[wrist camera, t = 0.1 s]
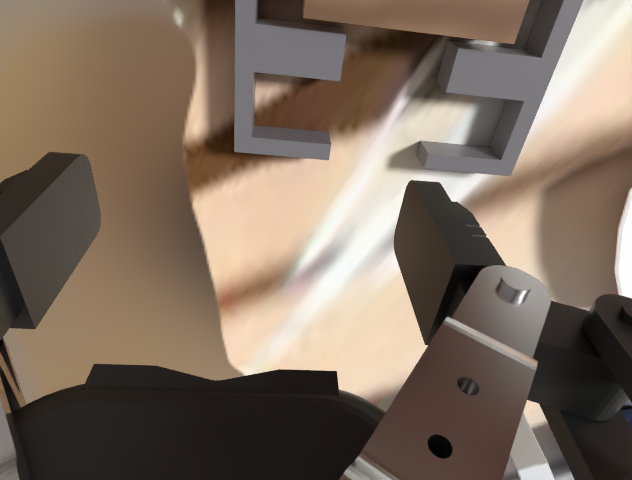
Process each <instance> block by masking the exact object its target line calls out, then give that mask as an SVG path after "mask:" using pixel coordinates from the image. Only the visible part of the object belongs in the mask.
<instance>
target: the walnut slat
mask: <svg viewBox="0 0 632 480" xmlns="http://www.w3.org/2000/svg"><path fill="white" fill-rule="evenodd" d="M529 1H530V0H303V2H302V13H303V18H308V19H316V20H324V21H332V22H340V23H348V24H356V25H364V26H372V27H380V28H388V29H396V30H404V31H412V32H420V33H428V34H437V35H445V36H453V37H461V38H469V39H477V40H485V41H493V42H501V43H509V44H514V43H515V40H516V38H517V35H518V32H519V29H520V26H521V23H522V21H523V18H524V15H525V12H526V9H527V6H528V4H529Z"/></svg>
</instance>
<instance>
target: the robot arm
mask: <svg viewBox="0 0 632 480" xmlns="http://www.w3.org/2000/svg"><path fill="white" fill-rule="evenodd" d="M100 221H101V212H100V207H99V202H98V197H97V192H96V188H95V184H94V178H93V173H92V169H91V165H90V162H89V159H88V158H87V157H86V156H85V155H84V154H71V153H58V152H49V153H47V154H46V155H45V156H44V157H43V158H42V159H41V160H39V161H38V162H37V163H36V164H35V165H34V166H32V168H30V169H29V170H25V171H23V172H21V173H19V174H17V175H14V176H12V177H10V178H7V179H5V180H4V181H2V182H1V183H0V480H502V478H503V475H504V471H505V468H506V465H507V462H508V459H509V455H510V452H511V449H512V446H513V442H514V439H515V436H516V433H517V430H518V426H519V423H520V420H521V417H522V414H523V410H524V407H525V404H526V401H527V400H530V401H533V402H536V403H539V404H540V406H541V409H542V411H543V413H544V415H545V417H546V419H547V421H548V423H549V426H550V428H551V430H552V432H553V434H554V436H555V438H556V441H557V443H558V445H559V447H560V449H561V451H562V453H563V455H564V458H565V460H566V462H567V464H568V466H569V468H570V470H571V473H572V475H573V477H574V479H575V480H632V428H631V426H630V425H629V423H628V422H627V420H626V418H625V417H624V415H623V414H622V412H621V411H620V409H621V407H622V406H623V405H624V404H625V403H626V402H627V401H628V399H630V401H631V402H632V298H629V297H625V296H621V295H615V294H608V295H602V296H600V297H598V298H597V300H596V301H595V302H594V304H593V306H592V307H591V309H590V310H589V311H587V310H583V309H579V308H575V307H572V306H568V305H564V304H560V303H557V302H553V301H551V296H550V294H549V292H548V290H547V289H546V287H545V286H544V285H543V284H542V283H541V282H540V281H539V280H537V279H536V278H534V277H533V276H531V275H529V274H528V273H526V272H523V271H521V270H519V269H516V268H512V267H508V266H506V265H505V263H504V261H503V260H502V258H501V257H500V255H499V254H498V252H497V251H496V249H495V248H494V246H493V245H492V243H491V242H490V240H489V239H488V238H486V234H485V233H484V231H483V229H482V228H481V227H479V226H480V225H479V223H478V222H477V220H476V219H475V217H474V216H473V214H472V213H471V212H470V211H468V210H467V209H466V208H464V207H463V206H462V205H460V204H459V203H458V202H452V201H451V200H450V198H449V197H448V195H447V193H446V192H445V190H444V188H443V187H442V185H441V184H440V183H439V182H428V181H415V180H411V181H409V183H408V185H407V187H406V190H405V194H404V198H403V202H402V206H401V210H400V214H399V217H398V221H397V225H396V229H395V234H394V251H395V255H396V258H397V261H398V264H399V267H400V270H401V273H402V276H403V279H404V282H405V285H406V288H407V291H408V294H409V297H410V300H411V303H412V306H413V309H414V312H415V316H416V319H417V322H418V325H419V328H420V331H421V334H422V337H423V340H424V343H425V345H428V347H427V349H426V350H425V352H424V353H423V355H422V356H421V358H420V360H419V361H418V363H417V364H416V366H415V368H414V369H413V371H412V372H411V374H410V375H409V377H408V379H407V380H406V382H405V383H404V385H403V387H402V388H401V390H400V391H399V393H398V394H397V396H396V398H395V399H394V401H393V402H392V404H391V406H390V407H389V409H388V410H387V412H385V411H384V410H382V409H381V408H379V407H378V406H376V405H375V404H373V403H371V402H369V401H367V400H365V399H363V398H361V397H359V396H357V395H354V394H351V393H349V392H346V391H342V390H339V388H338V379H337V371H313V370H280V369H279V370H274V371H269V372H264V373H258V374H253V375H248V376H242V377H237V378H232V379H227V380H220V381H214V380H209V379H205V378H201V377H197V376H193V375H190V374H186V373H182V372H178V371H174V370H170V369H167V368H163V367H159V366H148V365H112V364H94V365H93V367H92V370H91V372H90V374H89V376H88V378H87V380H86V383H85V384H82V385H77V386H74V387H70V388H66V389H63V390H59V391H57V392H54V393H52V394H49V395H46V396H44V397H42V398H40V399H37V400H35V401H33V402H31V403H28V404H26V401H25V398H24V395H23V392H22V389H21V386H20V383H19V380H18V377H17V374H16V371H15V368H14V365H13V362H12V359H11V356H10V353H9V350H8V347H7V345H6V342H5V340H4V338H3V336H4V335H5V334H6V332H7V330H8V329H9V328H23V329H36V327H37V326H38V324H39V323H40V321H41V320H42V318H43V317H44V315H45V313H46V312H47V310H48V309H49V307H50V306H51V304H52V303H53V301H54V300H55V298H56V297H57V295H58V294H59V292H60V291H61V289H62V288H63V286H64V285H65V283H66V281H67V280H68V278H69V277H70V275H71V274H72V272H73V271H74V269H75V268H76V266H77V265H78V263H79V262H80V260H81V259H82V257H83V256H84V254H85V252H86V251H87V249H88V248H89V246H90V245H91V243H92V242H93V240H94V239H95V237H96V236H97V234H98V231H99V228H100V223H101V222H100Z"/></svg>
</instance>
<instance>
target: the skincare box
mask: <svg viewBox="0 0 632 480" xmlns="http://www.w3.org/2000/svg"><path fill="white" fill-rule="evenodd" d="M510 457H511V459H512V462H513V464H514V466H515V468H516V471H517V473H518V475H519V477H520V480H554V477H553V474H552V472H551V469H550V467H549V465H548V462H547V460H546V458H545V456H544V454H543V452H542V450H541V448H540V446H539V444H538V442H537V439H536V437H535V435H534V433H533V431H532V429H531V427H530V425H529V423H528V421H527V419H526V417H525V415H524V413H523V414H522V417H521V420H520V423H519V426H518V430H517V433H516V436H515V439H514V442H513V446H512V449H511V452H510Z"/></svg>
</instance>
